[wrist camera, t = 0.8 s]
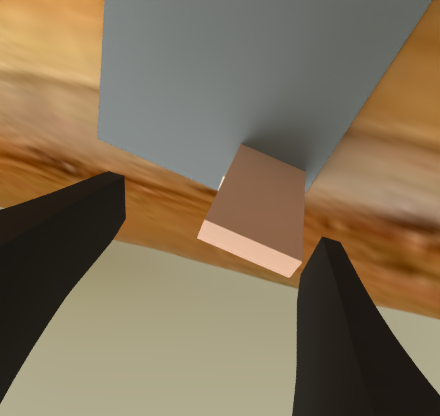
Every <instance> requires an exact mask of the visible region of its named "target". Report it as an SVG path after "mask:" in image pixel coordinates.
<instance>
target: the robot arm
mask: <svg viewBox="0 0 440 416" xmlns="http://www.w3.org/2000/svg"><path fill="white" fill-rule="evenodd" d="M125 219H126V213H125V181H124V176H123V175H119V174H116V173H113V172H110V171H108V172H105V173H102V174H99V175H96V176H94V177H91V178H89V179H86V180H83V181H81V182H78V183H76V184H73V185H71V186H68V187H65V188H63V189H60V190H58V191H55V192H52V193H50V194H47V195H44V196H41V197H38V198H35V199H32V200H29V201H27V202H24V203H21V204H18V205H15V206H11V207H8V208H5V209H1V210H0V403H1V402H2V400H3V398H4V396H5V394H6V393H7V391H8V389H9V387H10V385H11V384H12V382H13V380H14V378H15V377H16V375H17V373H18V372H19V370H20V368H21V366H22V365H23V363H24V361H25V360H26V358H27V356H28V355H29V353H30V352H31V350H32V348H33V346H34V345H35V343H36V342H37V340H38V339H39V337H40V336H41V334H42V333H43V331H44V329H45V328H46V326H47V325H48V323H49V322H50V320H51V319H52V317H53V316H54V314H55V313H56V311H57V309H58V308H59V307H60V305H61V304H62V302H63V301H64V299H65V298H66V296H67V295H68V294H69V293H70V291H71V290H72V289H73V287H74V286H75V285H76V284H77V283H78V281H79V280H80V279H81V278H82V277H83V275H84V274H85V273H86V272H87V271H88V269H89V268H90V267H91V266H92V265H93V263H94V262H95V261H96V260H97V259H98V257H99V256H100V255H101V254H102V253H103V251H104V250H105V249H106V248H107V246H108V245H109V244H110V243H111V241H112V240H113V239H114V237H115V235H116V234H117V232H118V231H119V229H120V227H121V226H122V224H123V222H124V221H125ZM292 416H440V395H439V394H438V393H437V391H436V390H435V389H434V388H433V387H432V385H431V384H430V383H429V382H428V380H427V379H426V378H425V376H424V375H423V374H422V373H421V371H420V370H419V369H418V367H417V366H416V365H415V363H414V362H413V361H412V359H411V358H410V357H409V355H408V354H407V353H406V351H405V350H404V349H403V347H402V346H401V345H400V343H399V342H398V340H397V339H396V337H395V336H394V335H393V333H392V331H391V330H390V328H389V327H388V325H387V324H386V322H385V320H384V319H383V317H382V316H381V314H380V313H379V311H378V310H377V308H376V306H375V305H374V303H373V301H372V300H371V298H370V296H369V294H368V293H367V291H366V289H365V287H364V286H363V284H362V282H361V280H360V278H359V277H358V275H357V273H356V271H355V269H354V267H353V265H352V263H351V262H350V260H349V258H348V256H347V254H346V252H345V250H344V248H343V246H342V244H341V243H340V242H338V241H335V240H332V239H329V238H325V237H322V238H321V239H320V241H319V243H318V245H317V247H316V248H315V250H314V252H313V254H312V256H311V257H310V259H309V261H308V263H307V264H306V266H305V268H304V270H303V272H302V273H301V277H300V283H299V291H298V298H297V370H296V385H295V395H294V404H293V413H292Z"/></svg>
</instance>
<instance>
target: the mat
mask: <svg viewBox="0 0 440 416" xmlns="http://www.w3.org/2000/svg"><path fill="white" fill-rule="evenodd" d="M431 2H432V0H105V4H104V23H103V41H102V60H101V79H100V97H99V116H98V135H97V139H99V140H101V141H104V142H106V143H108V144H111V145H113V146H115V147H118V148H120V149H122V150H125V151H127V152H129V153H132V154H134V155H136V156H139V157H141V158H143V159H145V160H148V161H150V162H152V163H155V164H157V165H159V166H162V167H164V168H166V169H169V170H171V171H173V172H176V173H178V174H180V175H183V176H185V177H187V178H189V179H192V180H194V181H196V182H199V183H201V184H203V185H206V186H208V187H210V188H213V189H215V190H217V191H218V188H219V186H220V183H221V181H222V178H223V176H224V174H227V172H228V169H229V167H230V165H231V163H232V161H233V159H234V157H235V155H236V153H237V151H238V149H239V146H240V144H243V145H245V146H247V147H250V148H252V149H254V150H257V151H259V152H261V153H264V154H266V155H268V156H271V157H273V158H275V159H277V160H280V161H282V162H284V163H287V164H289V165H291V166H294V167H296V168H298V169H301V170H303V171H305V172H306V177H305V193H306V191H307V190H308V188H309V187H310V185H311V184H312V182H313V181H314V179H315V178H316V176H317V175H318V173H319V172H320V170H321V169H322V167H323V166H324V164H325V163H326V161H327V160H328V158H329V157H330V155H331V154H332V152H333V151H334V149H335V147H336V146H337V144H338V143H339V141H340V140H341V138H342V137H343V135H344V134H345V132H346V131H347V129H348V128H349V126H350V125H351V123H352V122H353V120H354V119H355V117H356V116H357V114H358V113H359V111H360V110H361V108H362V106H363V105H364V103H365V102H366V100H367V99H368V97H369V96H370V94H371V93H372V91H373V90H374V88H375V87H376V85H377V84H378V82H379V81H380V79H381V78H382V76H383V75H384V73H385V72H386V70H387V69H388V67H389V65H390V64H391V62H392V61H393V59H394V58H395V56H396V55H397V53H398V52H399V50H400V49H401V47H402V46H403V44H404V43H405V41H406V40H407V38H408V37H409V35H410V34H411V32H412V31H413V29H414V28H415V26H416V25H417V23H418V21H419V20H420V18H421V17H422V15H423V14H424V12H425V11H426V9H427V8H428V6H429V5H430V3H431Z"/></svg>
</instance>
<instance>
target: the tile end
mask: <svg viewBox="0 0 440 416" xmlns="http://www.w3.org/2000/svg"><path fill="white" fill-rule="evenodd" d="M305 177H306V172H305V171H303V170H301V169H298V168H296V167H294V166H291V165H289V164H287V163H284V162H282V161H280V160H277V159H275V158H273V157H271V156H268V155H266V154H264V153H261V152H259V151H257V150H254V149H252V148H250V147H247V146H245V145H243V144H240V146H239V149H238V151H237V153H236V155H235V157H234V159H233V161H232V163H231V165H230V167H229V169H228V172H227V174H224V176H223V178H222V181H221V183H220V186H219V188H218V193H217V195H216V197H215V199H214V201H213V203H212V205H211V207H210V209H209V211H208V213H207V216H206V218H205V220H204V222H203V225H202V227H201V230H200V232H199V235H198V237H197V238H198V239H200V240H203V241H205V242H207V243H210V244H212V245H214V246H216V247H219V248H221V249H223V250H226V251H228V252H230V253H233V254H235V255H237V256H240V257H242V258H244V259H247V260H249V261H251V262H254V263H256V264H258V265H261V266H263V267H265V268H267V269H270V270H272V271H274V272H277V273H279V274H281V275H284V276H286V277H288V278H290V277H291V275H292V274H293V273H294V272H295V270H296V269H297V268H298V267H299V265H300V264H301V263H302V260H303V232H304V204H305Z"/></svg>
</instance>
